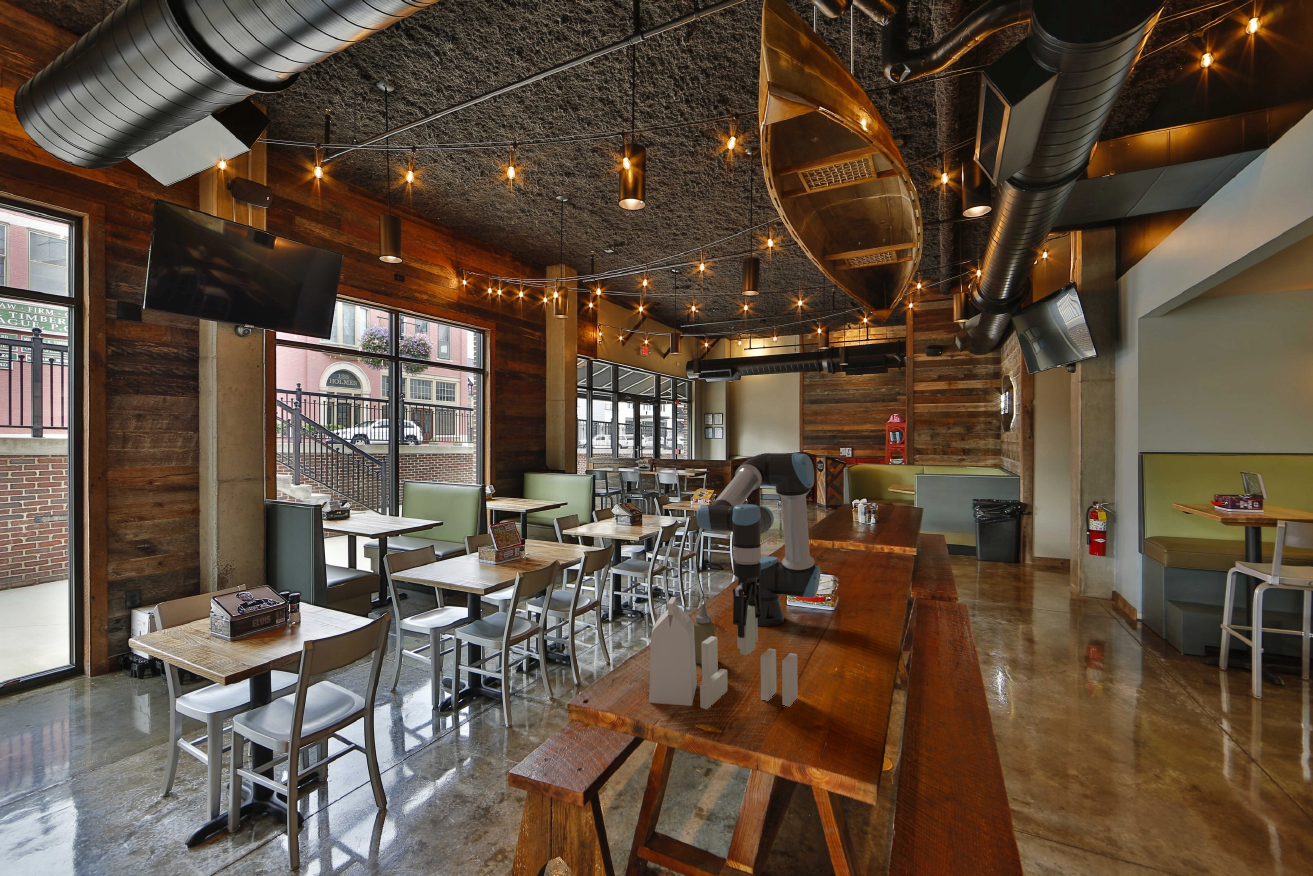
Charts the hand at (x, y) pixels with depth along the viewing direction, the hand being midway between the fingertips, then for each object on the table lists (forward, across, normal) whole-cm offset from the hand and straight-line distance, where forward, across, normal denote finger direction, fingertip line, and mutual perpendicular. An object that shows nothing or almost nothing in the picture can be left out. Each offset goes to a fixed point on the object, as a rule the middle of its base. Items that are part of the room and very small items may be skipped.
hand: (747, 644), depth 158 cm
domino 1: (+13, 0, -12) cm, 18 cm away
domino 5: (+13, 0, +12) cm, 18 cm away
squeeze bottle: (+13, -11, -20) cm, 26 cm away
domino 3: (+2, 0, 0) cm, 2 cm away
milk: (+13, +12, -17) cm, 25 cm away
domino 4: (+13, 0, +6) cm, 14 cm away
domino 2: (+10, +3, -6) cm, 12 cm away
